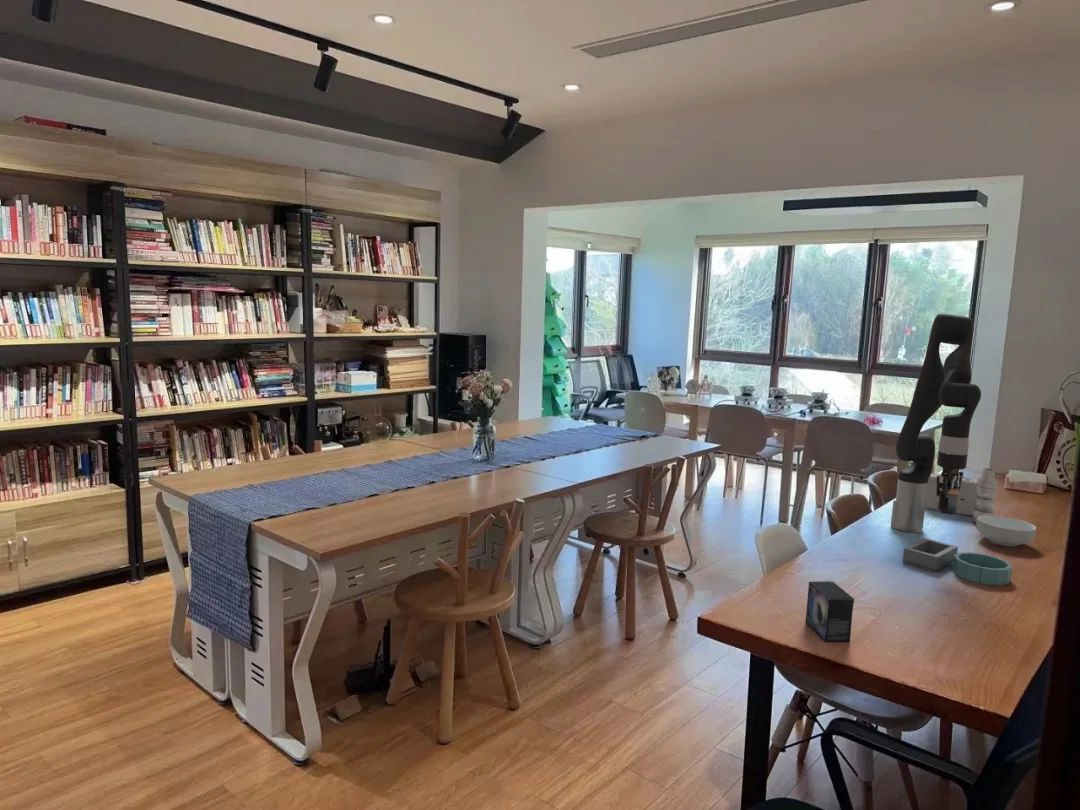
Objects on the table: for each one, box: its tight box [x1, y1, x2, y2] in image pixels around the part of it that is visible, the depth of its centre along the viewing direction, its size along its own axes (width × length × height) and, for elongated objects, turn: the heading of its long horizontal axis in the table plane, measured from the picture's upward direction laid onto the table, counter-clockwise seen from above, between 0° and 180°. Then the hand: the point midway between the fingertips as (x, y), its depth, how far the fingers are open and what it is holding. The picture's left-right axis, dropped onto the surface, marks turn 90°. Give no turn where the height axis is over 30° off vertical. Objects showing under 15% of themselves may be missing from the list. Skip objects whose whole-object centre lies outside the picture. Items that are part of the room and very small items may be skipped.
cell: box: [936, 486, 959, 516], centre depth 217 cm, size 5×5×8 cm
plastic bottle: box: [972, 467, 999, 523], centre depth 263 cm, size 6×7×20 cm
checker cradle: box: [902, 537, 959, 573], centre depth 222 cm, size 10×16×4 cm, turn 132°
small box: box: [805, 580, 855, 643], centre depth 171 cm, size 11×6×10 cm, turn 5°
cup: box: [951, 551, 1013, 586], centre depth 212 cm, size 14×14×4 cm
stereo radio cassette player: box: [925, 459, 979, 517], centre depth 279 cm, size 21×8×20 cm, turn 58°
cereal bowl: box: [975, 515, 1037, 548], centre depth 244 cm, size 17×17×7 cm
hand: (946, 507), depth 218 cm, fingers closed on cell, 5 cm apart
